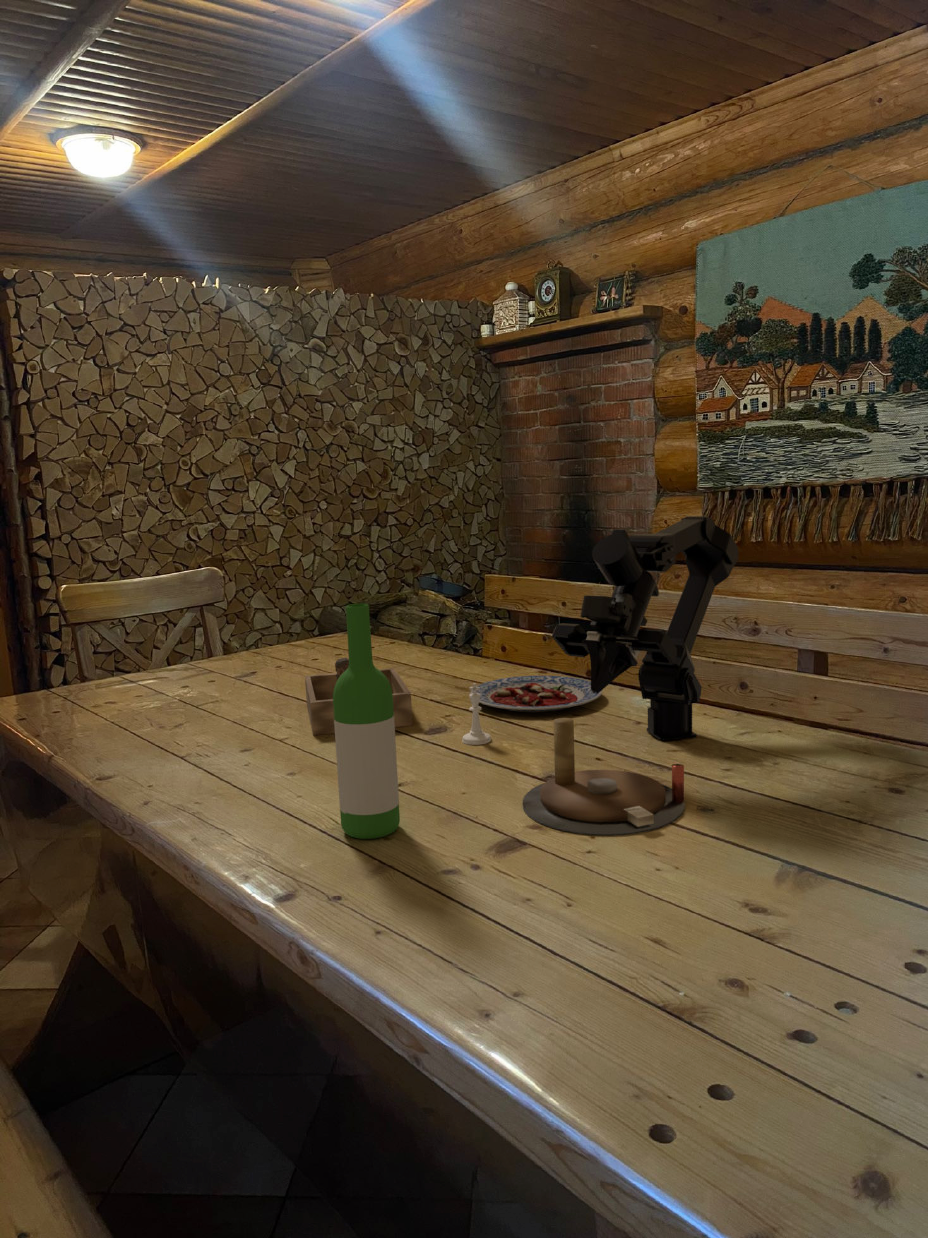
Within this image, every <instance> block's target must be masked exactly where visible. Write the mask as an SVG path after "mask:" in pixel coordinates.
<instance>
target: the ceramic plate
mask: <svg viewBox="0 0 928 1238" xmlns="http://www.w3.org/2000/svg"><path fill="white" fill-rule="evenodd" d="M476 687H480V690H476V693H479V694H480V695H481V697H480V700H479V704H481V705H486V706H488V707H493V708H498V709H503V710H506V711H510V712H511V711H512V712H521V713H544V712H545V713H547V712H557V711H562V710H565V709H570V708H571V707H573V708H574V707H577V706H582V705H585V704H588V703H591V702H593V701H595V700H597V699H598V698H600V697H601V695H602V693H603V690H602V691H600V692H599V693H593V692H592V691H591V680H590V681H589V680H585V679H581V678H577V677H576V678H575V677H571V676H570V677H569V676H558V675H524V676H512V677H511V676H510V677H502V678H499V679H494V680H489V681H487V682H483V683H480V684H478V685H476ZM472 693H473V690H470V694H472ZM470 694H469V695H470Z"/></svg>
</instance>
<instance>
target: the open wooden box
mask: <svg viewBox="0 0 928 1238" xmlns="http://www.w3.org/2000/svg"><path fill="white" fill-rule="evenodd" d="M378 670H380V671H381V672H382V673H383V674H384V675H385V676H386V677H387V679H388V681H389V683H390V685H391V688H392V694H393V710H394V724H395V728H399V727H400V728H401V727H411V726H413V725H414V724H413V707H412V693H411V691H410V690H409V688H408V687H407V685H406V684H405V682H404V681H403V679H402V678H401V676H400V675H399V673H398V672H397V670H396V668H395V667H392V668H390V667H389V668H382V669H378ZM336 674H337V672H335V673H333V672H332V673H323V674H311V675H304V680H305V681H304V684H305V685H304V686H305V699H306V708H307V712H308V718H309V722H310V728H311V733H312V736H320V735H327V734H328V735H329V734H330V735H331V734H335V726H334V708H333V692H334V687H335V684H336V682H337V677H336Z"/></svg>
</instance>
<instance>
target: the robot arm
mask: <svg viewBox="0 0 928 1238" xmlns="http://www.w3.org/2000/svg"><path fill="white" fill-rule="evenodd" d="M681 553H682V554H683V556H684V557H685V559H684V562H685V565H686V567H687V570H688V577H687V579H686V582H685V585H684V587H683V589H682V593H681V594H680V598H679V599H678V602H677V605H676V607H675V610H674V613H673V616H672V619H671V621H670V623H669V626H668V628H667V630H666V631H665V629H663V628H661V629H660V628H659V629H658V628H644V627H646V626H647V623H648V619H647V618H646V616H645V614H646V612H647V609H648V606H649V604H650V602H651V599H652V597H659V594H660V593H659V588H658V586H657V581H656V579H655V578H654V577H653V575H652V573H666V572H667V571H669V569H670V568H672V567H673V566H674V565H675V564H676V562H677V561H676V559H677V558H676V556H677V555H679V554H681ZM739 554H740V553H739V547H738V545H737V543H736V542H735V540H734V538H733V536H732V534H730V533H729V532H728V531H726V530H724V528H721V527H719V526H718V525H717V524H716V522H715V520H713V518H712V517H708V516H702V515H701V516H697V515H696V516H694V515H693V516H685V517H682V518H681V519H680V521H677V522H676V523H674V524H672V525H670V526H668V527H665V528H663V529H662V530H659V531H657V532H655V533H638V534H637V533H636V534H630V535H629V534H628V532H627V530H626V529H615V528H614V529H612V532H611V534H610V535H607V536H604V537H603V538H602V539H600V540H599V541H598V542H597V543H596V544H594V546H593V548H592V551H591V556H592V559H593V560H594V562H595V564H596V565H597V567H598V569H599V570H600V571H601V573H602V575H603V576H604V578H605V580H606V581H607V582H608V583H609V584H610V585H611V586H614V588H613V591H612V593H611V596H607V595H588V594H587V595H583V599H582V605H581V611H580V618H582V619H584V618H585V619H587V620H589V621H591V622H590V626H591V627H592V629H593V631H590V630H589V631H587V632H586V631H585V629H584V628H583V626H582V625H581V624H579V623H564V622H562V623H558V624H556V626H555V628H553V629H554V630H553V632H552V634H551V638H552V639H553V640H554V642H555V643H556V644H557V645H558V646H559V647H560V649H561V651H563V653H565V655H567V656H570V657H575V658H586V657H587V656H589V660H590V682H591V691H592V692H593V693H599V692H600V691H602V692H603V690H604V689H605V688H606V687H607V686H608V685H609V684H611V683H612V682H613V681H615V679H617V678H618V677H619V676H620V675H622V674H624V673H625V672H626V671H627V670H629V669H630V668H632V667H637V665H638V661H637V658H638V655H639V654H641V652H646V653H645V655H644V657H643V658H642V660H641V662H642V664H641V665H640V667H639V668H638V669H639V670H638V673H637V674H638V677H637V678H638V683H639V687H640V688H639V689H640V692H641V699H643V700H650V701H649V702H650V707H647V727H646V732H647V733H649V734H651V735H652V736H653V737H655V738H657V740H659V741H661V742H662V741H663V742H665V741H673V740H680V739H681V740H683V739H691V738H697V735H698V734H697V733H696V732H694V731H693V704H698V703H699V702H700V699H701V696H702V685H701V683H700V682H699V679H698V678H697V676H696V674H695V672H696V671H695V665H694V661H693V658H692V655H691V654H692V650H693V647H694V644H695V642H696V639H697V637H698V634H699V631H700V628H701V625H702V624H703V621H704V618H705V615H706V612H707V611H708V607H709V604H710V603H711V602H710V601H711V599H712V596H713V593H714V590H715V588H716V587H717V586H718V585H720V583H722V582H723V581H726V580H727V579H728V578H729V577H730V575H731V573H732V572H733V571H732V570H733V569H734V567H735V565H736V564H737V562H738V560H739ZM641 627H643V628H641ZM640 628H641V629H640ZM594 630H596V631H594Z"/></svg>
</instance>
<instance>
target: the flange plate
mask: <svg viewBox="0 0 928 1238" xmlns="http://www.w3.org/2000/svg"><path fill="white" fill-rule="evenodd" d="M574 726H575V722H574V719H573V718H569V717H559V718H555V719H553V754H554V757H553V758H554V759H553V760H554V777H551V778H550V779H548V780H547V781H545V782H543V783H544V784H543V783H542V784H543V785H542V787H541V790H540V798H541V803H542V804H543V806H544V807H545V808H546V809H548V810H549V811H551V812H553V813H555V814H558V815H560V816H564V817H567V818H571V819H576V820H582V821H592V822H618V821H629V822H631V823H632V824H634V825H636V826H637V827H639V826H644V825H649V824H654V813H655V812H657V811H659V810H660V809H661V808H662V807H663V806H664V805H665V802H666V791H665V788H664V787H663V785H664V784H663V783H661V782H660V781H658V780H656V779H655V778H652V777H649V776H646V775H644V774H640V773H636V772H631V771H626V770H618V769H617V770H615V769H586V770H577V771H576V770H575V769H576V768H575V762H576V761H575V727H574ZM662 784H663V785H662Z"/></svg>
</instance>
